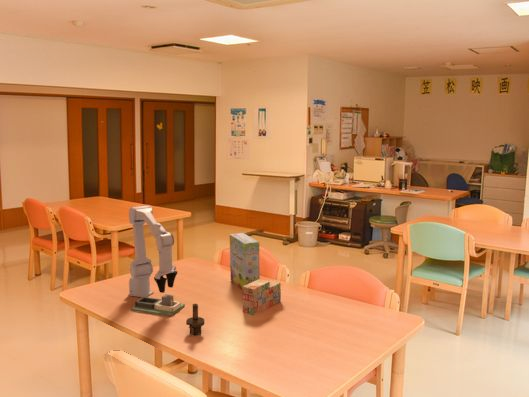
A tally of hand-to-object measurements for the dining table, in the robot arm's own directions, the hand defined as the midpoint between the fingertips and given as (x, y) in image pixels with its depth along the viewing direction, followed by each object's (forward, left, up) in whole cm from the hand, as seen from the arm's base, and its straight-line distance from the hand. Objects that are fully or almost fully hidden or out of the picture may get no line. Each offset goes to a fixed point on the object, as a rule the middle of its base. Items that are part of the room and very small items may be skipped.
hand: (166, 289), depth 225 cm
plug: (+1, 0, -8) cm, 8 cm away
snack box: (+21, +42, -10) cm, 48 cm away
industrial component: (+24, -17, -10) cm, 31 cm away
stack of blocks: (+39, +19, -10) cm, 44 cm away
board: (-4, 0, -9) cm, 10 cm away
